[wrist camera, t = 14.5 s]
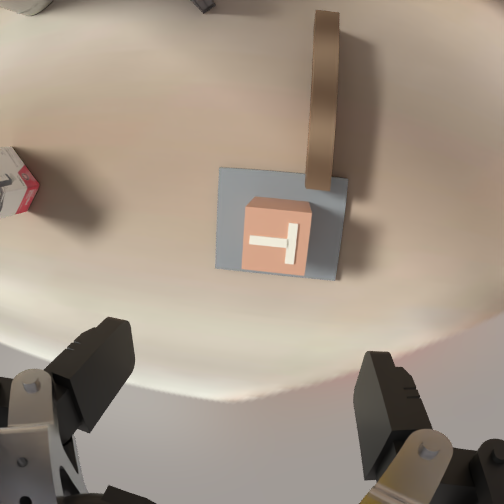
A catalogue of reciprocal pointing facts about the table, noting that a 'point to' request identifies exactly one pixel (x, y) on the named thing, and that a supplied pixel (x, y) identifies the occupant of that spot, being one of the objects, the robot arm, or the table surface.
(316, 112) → the walnut screen
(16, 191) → the ink box
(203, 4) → the mini dv tape
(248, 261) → the terracotta block
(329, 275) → the slate mat
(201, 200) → the table surface
